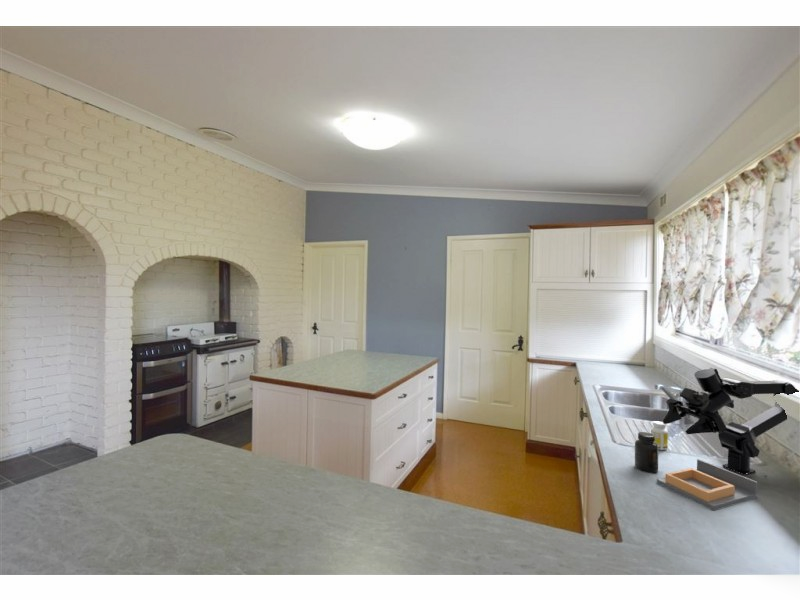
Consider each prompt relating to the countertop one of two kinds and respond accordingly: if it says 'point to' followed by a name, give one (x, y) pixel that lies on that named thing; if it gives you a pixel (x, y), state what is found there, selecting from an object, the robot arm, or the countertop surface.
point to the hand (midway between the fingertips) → (674, 427)
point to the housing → (710, 485)
